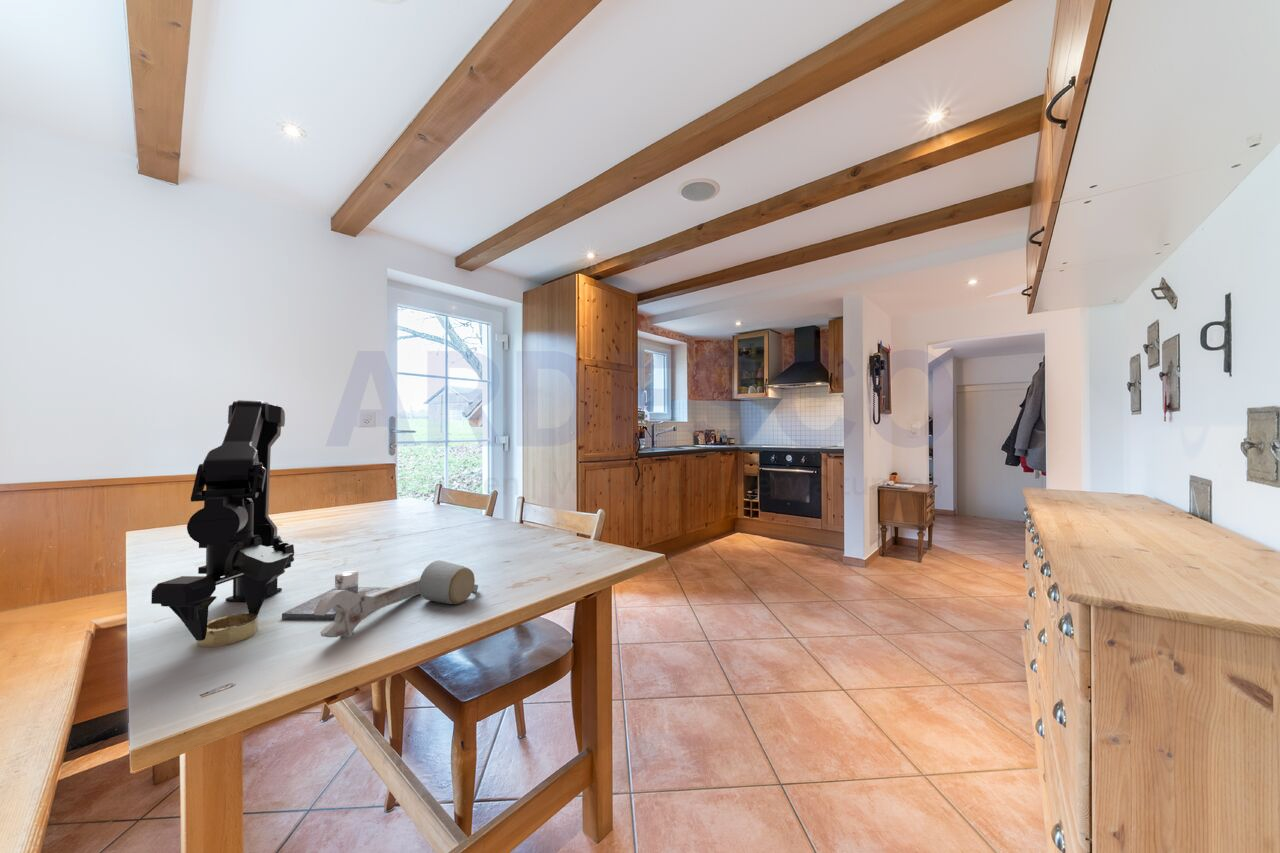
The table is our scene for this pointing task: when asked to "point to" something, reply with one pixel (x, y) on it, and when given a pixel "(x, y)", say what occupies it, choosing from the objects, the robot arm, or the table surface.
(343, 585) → the piston stand
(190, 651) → the table surface
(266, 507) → the robot arm
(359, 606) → the wrench
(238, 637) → the ring
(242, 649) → the table surface
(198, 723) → the table surface
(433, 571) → the ceramic mug
